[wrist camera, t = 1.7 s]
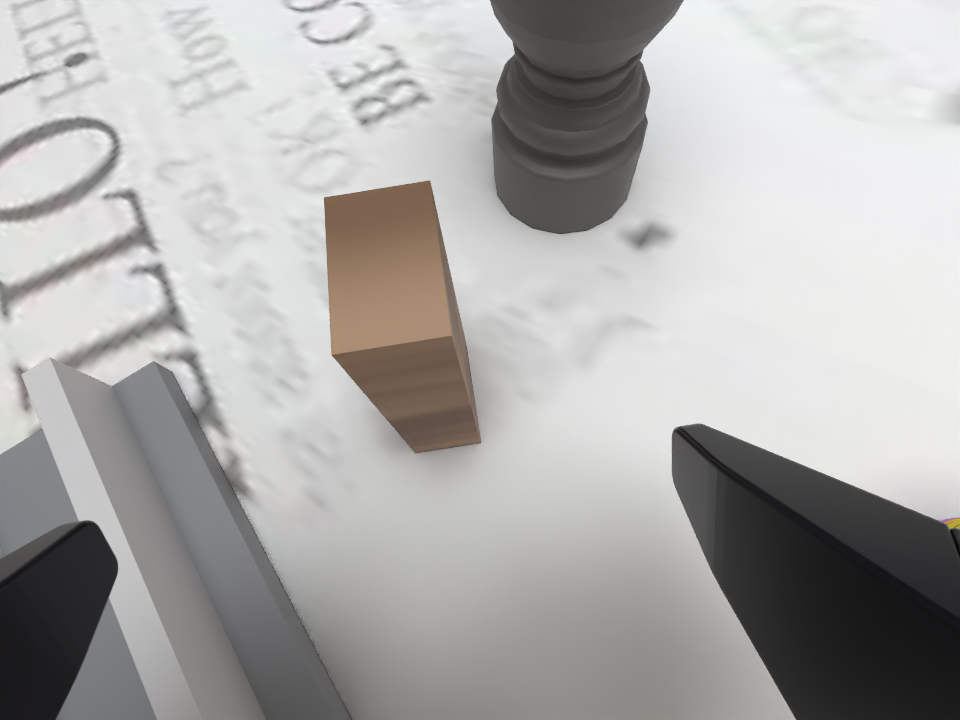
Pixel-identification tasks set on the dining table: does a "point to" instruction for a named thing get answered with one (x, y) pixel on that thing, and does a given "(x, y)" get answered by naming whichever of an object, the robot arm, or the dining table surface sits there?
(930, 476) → the dining table surface
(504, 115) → the candle holder
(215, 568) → the grey long channel piece
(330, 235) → the brown wooden block
